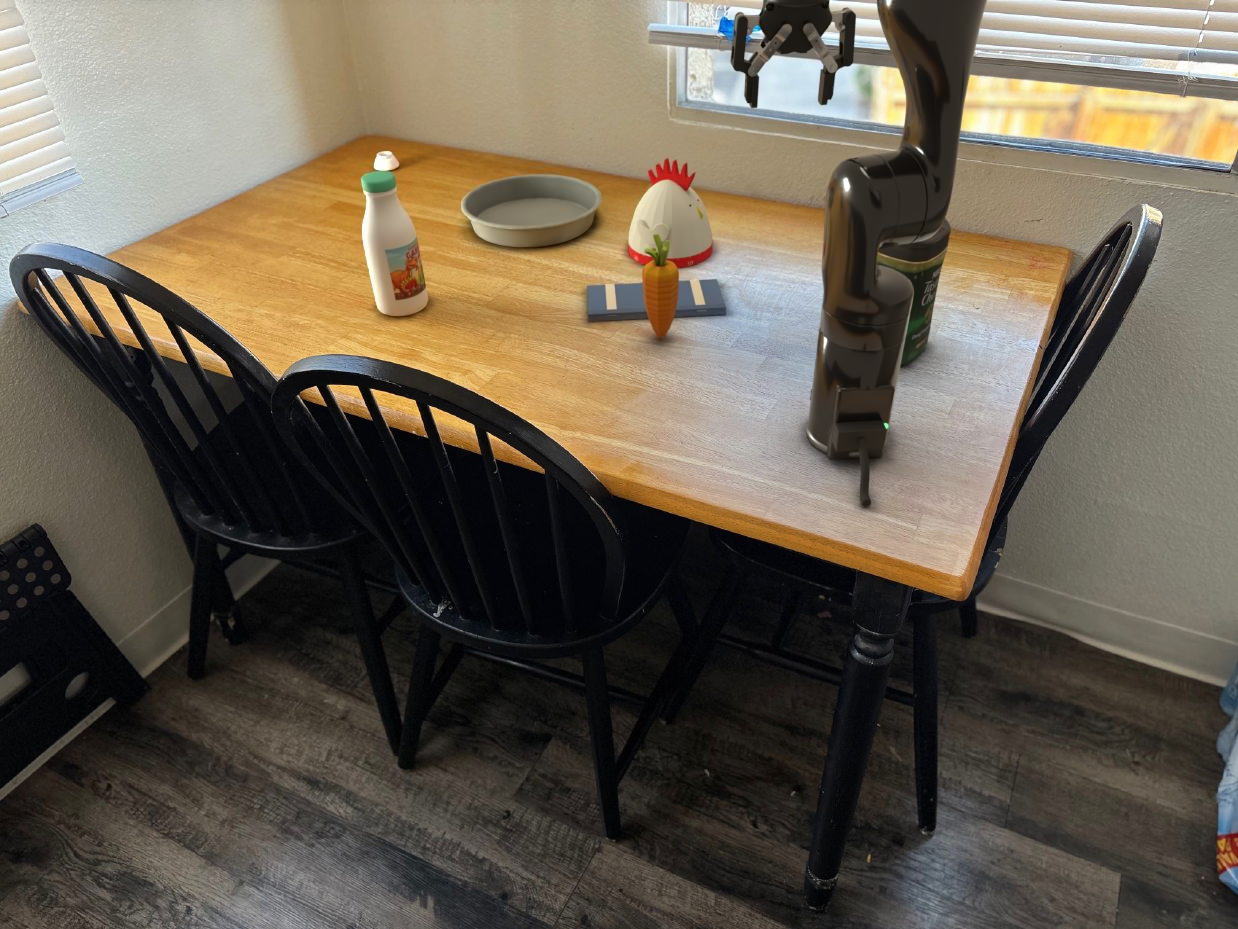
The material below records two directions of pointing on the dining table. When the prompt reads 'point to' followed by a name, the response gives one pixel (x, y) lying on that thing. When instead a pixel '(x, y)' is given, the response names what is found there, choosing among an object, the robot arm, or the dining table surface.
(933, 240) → the coffee jar
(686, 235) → the kitchen timer
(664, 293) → the carrot
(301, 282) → the dining table surface
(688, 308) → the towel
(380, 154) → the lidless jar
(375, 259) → the milk bottle
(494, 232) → the cake pan
